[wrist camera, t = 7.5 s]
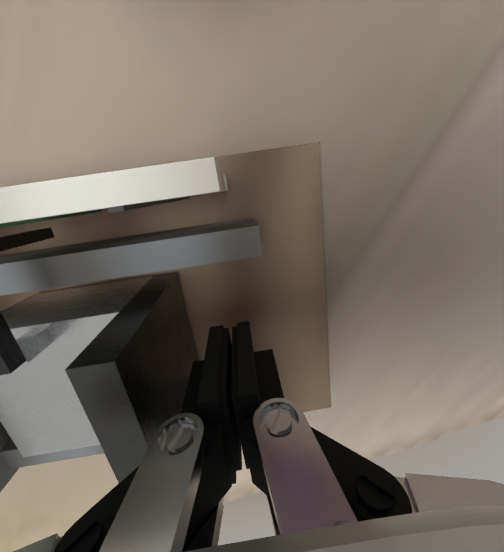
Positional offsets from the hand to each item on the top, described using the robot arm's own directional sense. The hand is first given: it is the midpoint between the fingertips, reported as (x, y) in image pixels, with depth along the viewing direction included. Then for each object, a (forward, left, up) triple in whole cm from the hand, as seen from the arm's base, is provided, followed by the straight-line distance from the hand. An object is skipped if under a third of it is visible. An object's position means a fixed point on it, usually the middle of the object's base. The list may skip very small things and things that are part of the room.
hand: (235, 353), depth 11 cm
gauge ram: (+6, -2, -3) cm, 7 cm away
